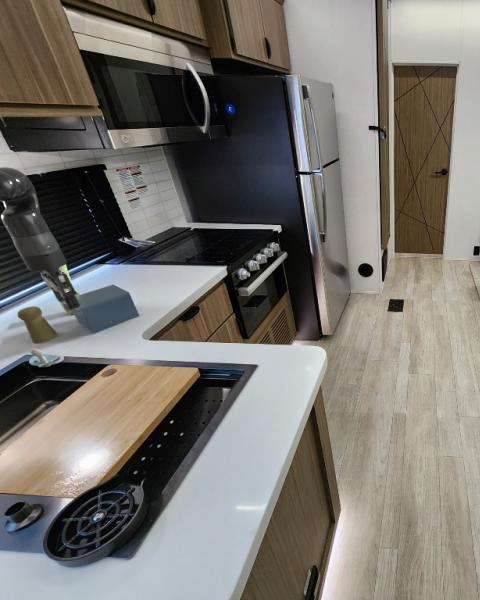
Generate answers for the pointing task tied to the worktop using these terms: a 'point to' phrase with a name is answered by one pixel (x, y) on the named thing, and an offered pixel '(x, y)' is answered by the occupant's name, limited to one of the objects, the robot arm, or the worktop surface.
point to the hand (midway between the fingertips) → (69, 304)
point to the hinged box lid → (98, 297)
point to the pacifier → (44, 358)
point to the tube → (64, 305)
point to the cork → (36, 325)
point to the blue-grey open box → (107, 314)
